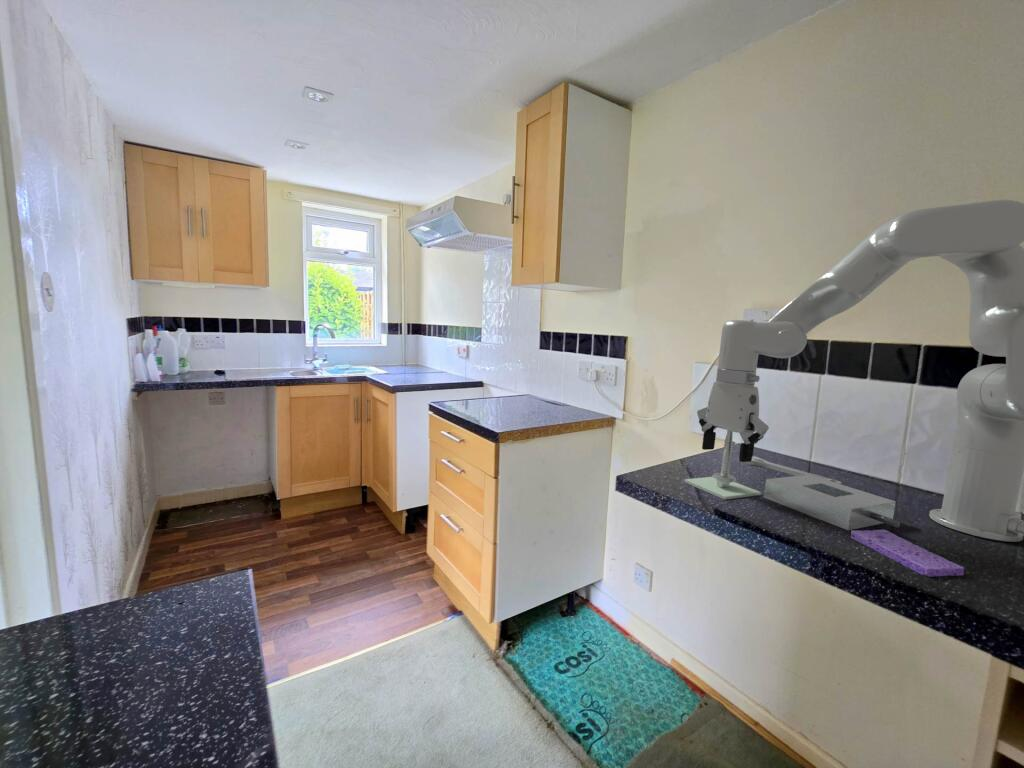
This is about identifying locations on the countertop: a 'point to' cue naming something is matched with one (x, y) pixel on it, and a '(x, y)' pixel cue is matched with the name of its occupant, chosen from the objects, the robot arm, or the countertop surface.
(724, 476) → the screw
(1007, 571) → the countertop surface
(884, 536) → the sponges
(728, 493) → the rubber mat
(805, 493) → the steel block
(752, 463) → the adjustable wrench
